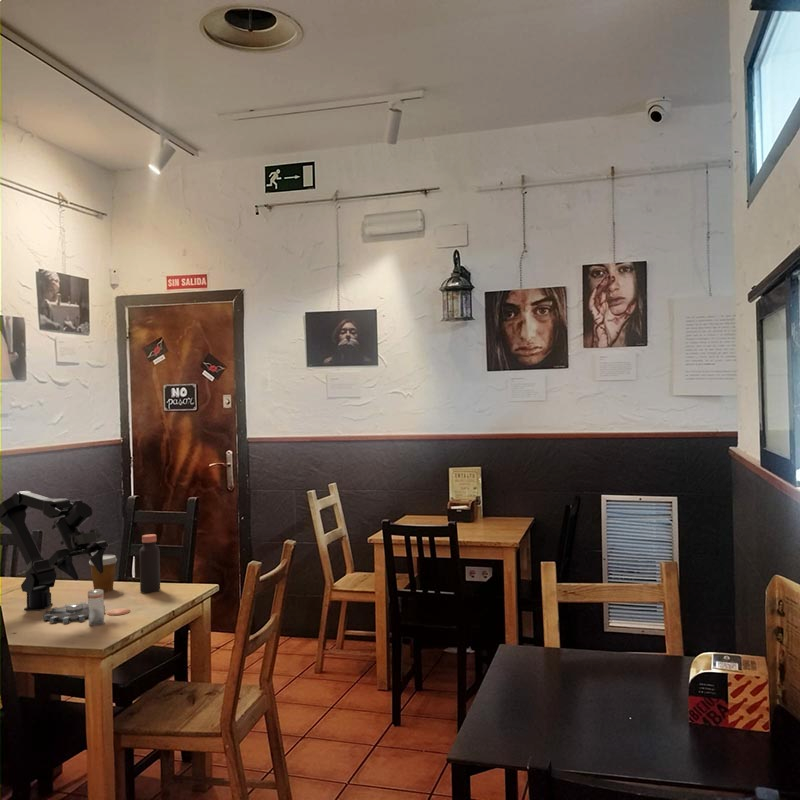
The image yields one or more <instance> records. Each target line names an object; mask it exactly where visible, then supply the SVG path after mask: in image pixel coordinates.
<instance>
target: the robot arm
mask: <svg viewBox="0 0 800 800" xmlns="http://www.w3.org/2000/svg"><path fill="white" fill-rule="evenodd" d="M29 508H32V509H35V510H37V511H41V512H42V515H44V516H45V517H47V518H48V519H57V518H58V519H57V520H54V522H53V524H52V526H51V529H52V530H57V531H58V534H59V536H60V538H61V542H60V545H61V546H64V547H65V548H62V549H58V550H56V551H55V552H54V553H52V555H50V556H49V557H48V558H44V557H42V554H41V552H40V550H39V549H38V546H37V544H36V542H35V540H34V538H33V536H32V534H31V532H30V530H29V527H28V525H27V524H26V518H27V510H28V509H29ZM92 515H93V509H92V507H91V506H90V505H88V503H85V502H83V500H82V499H77V500H75V501H74V502H73V503H72V502H71V500H70V499H69V498H51V497H47V496H43V495H41V494H37V493H35V492H32V491H31V490H30V491H29V490H23V491H16V492H15V493H13V494H12V495H11V496H9V498H7V499H5V500H4V501H2V502H1V503H0V523H1V525H2V526H3V527H5V528H6V529H9V531H10V533H11V534H12V537H13V538H14V542H15V543H16V546H17V548H18V549H19V552H20V554H21V556H22V558H23V560H24V562H25V564H26V567H25V572H24V574H25V575H24V576H25V579H24V580H23V581H22V583H21V585H20V586H21V587H20V588H21V591H22V592H23V593H26V607H24V609H23V610H24V611H44V610H45V609H47V608H49V607H51V606H52V605H53V603H52V592H51V591H50V588H54V586H55V583H56V579H57V571H56V569H58V570H60V571H61V572H63V573H64V574H65V573H66V575H68V576H69V577H70V578H72V579H73V580H74V581H78V580H79V575H78V572H77V570H76V568H75V566H74V564H73V558H76V557H79V556H84V555H88V556H89V561H90V560H91V562H92V563H93V564H94V566H95V567H96V569H97V570H98V572H99V573H100V574H102V573H103V555H105V554H104V553H105V552H106V551H107V549H109V547H110V546H109V544H108V542H107V540H99V541H98V539H100V538H101V532H100V530H99V529H98V527H97V528H93V529H90V530H89V532H84V530H81V531H80V528H79V527H81V526H82V525H83V524H85V522H86V521H87V520H88V519H90V518H91V516H92ZM92 542H94V543H93V544H92ZM91 544H92V545H91ZM90 545H91V546H90ZM89 546H90V547H89Z"/></svg>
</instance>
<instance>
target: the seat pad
mask: <svg viewBox="0 0 800 800" xmlns="http://www.w3.org/2000/svg"><path fill="white" fill-rule="evenodd" d="M128 612H129V613H130V612H131V609H130V608H124V607H122V608H114V609H111V610H108V611H107V612H106V614H107V615H108V616H112V615H115V616H122V614H123V615H125V614H126V613H127V614H129V613H128Z"/></svg>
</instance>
